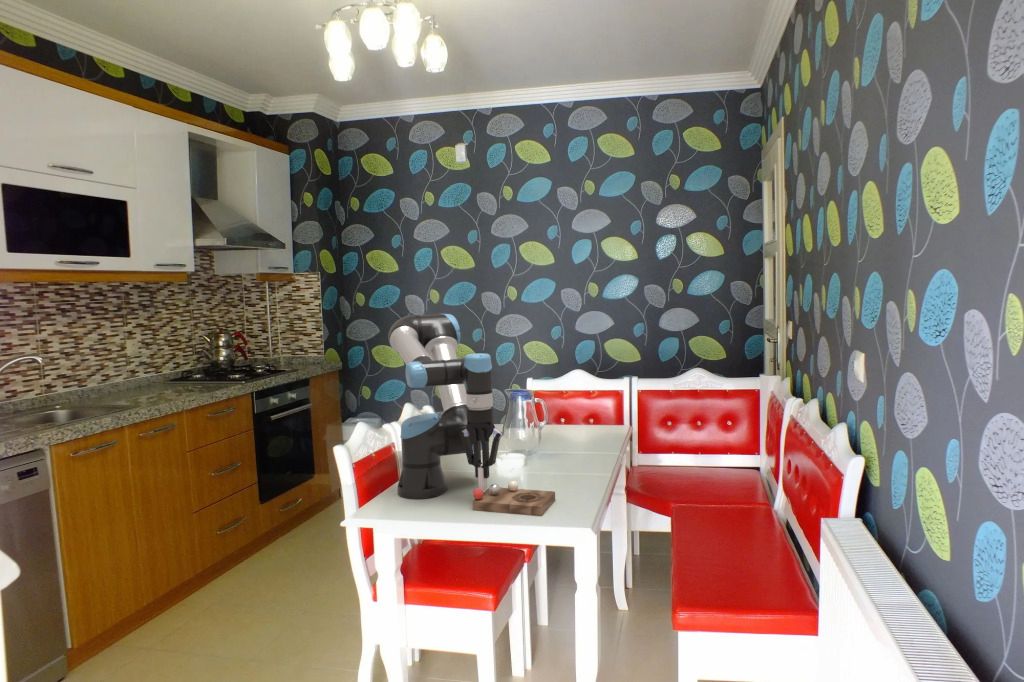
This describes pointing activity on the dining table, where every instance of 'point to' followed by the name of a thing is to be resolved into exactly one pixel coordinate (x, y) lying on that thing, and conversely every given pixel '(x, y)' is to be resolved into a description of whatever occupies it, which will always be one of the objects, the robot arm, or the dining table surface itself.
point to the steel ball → (494, 489)
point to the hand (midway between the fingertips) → (482, 488)
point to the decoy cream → (513, 485)
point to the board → (516, 501)
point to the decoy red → (478, 494)
